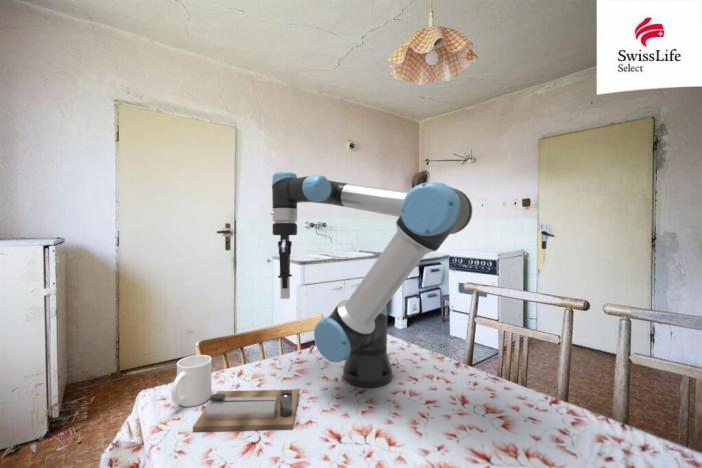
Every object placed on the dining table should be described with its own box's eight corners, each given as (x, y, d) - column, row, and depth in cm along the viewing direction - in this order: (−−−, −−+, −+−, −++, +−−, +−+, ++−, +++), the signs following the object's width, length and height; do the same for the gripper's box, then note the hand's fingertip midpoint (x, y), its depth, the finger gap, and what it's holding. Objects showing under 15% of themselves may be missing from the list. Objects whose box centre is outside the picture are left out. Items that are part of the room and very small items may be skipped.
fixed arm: (292, 410, 80) (292, 388, 80) (291, 417, 77) (291, 395, 77) (211, 412, 79) (211, 390, 78) (206, 420, 76) (206, 396, 75)
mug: (186, 418, 78) (186, 375, 78) (157, 413, 80) (157, 371, 80) (217, 393, 90) (218, 356, 90) (191, 389, 92) (192, 353, 92)
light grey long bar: (276, 409, 80) (276, 393, 80) (275, 412, 78) (275, 396, 78) (212, 409, 79) (212, 394, 79) (209, 413, 78) (209, 397, 78)
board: (299, 393, 90) (299, 389, 90) (292, 429, 74) (292, 424, 74) (217, 395, 89) (217, 391, 89) (192, 432, 73) (192, 426, 73)
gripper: (274, 223, 108) (275, 294, 108) (269, 222, 95) (270, 303, 96) (297, 223, 109) (298, 293, 109) (296, 222, 96) (296, 302, 96)
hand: (285, 298), depth 102 cm, fingers closed
